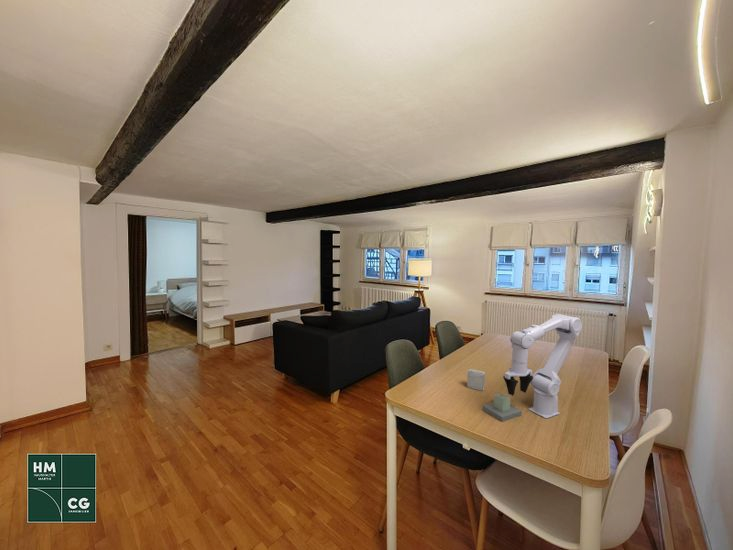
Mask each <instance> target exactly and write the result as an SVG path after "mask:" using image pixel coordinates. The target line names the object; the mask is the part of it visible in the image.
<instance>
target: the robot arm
mask: <svg viewBox="0 0 733 550" xmlns="http://www.w3.org/2000/svg"><path fill="white" fill-rule="evenodd" d="M582 329H583V323H582V320H581V319H580V317H576V316H575V317H574V316H569V315H565V314H561V313H554V314H553V315H551V317H550V318H549V319H547V320H546V321H545V322H543V323H542V324H539V325H537V324H531V325H530V327H527V328H526V329H522V330H520V331H518V330H517V331H515V332H513V333H511V335H510V337H509V341H510V343H511V348H512V352H511V354H512V355H511V366H510V368H508V371H507V372H504V375H503V377H502V379H503V380H504V382H505V385H506V388H507V394H508V395H510V396H512V397H513V396H515V392H516V387H517V385H518V383H519V388H520V390H519V391H520V392H523V393H526V392H527V391H528V388H529V386H532V390H533V403H532V406H531V407H528V410H529V411H531V412H533V413H535V414H536V415H538V416H540V417H542V418H544V419H549V418H551V417H554V416H557V415H560V414H561V413H560V412H559V411H558V408H559V407H558V406H559V397H558V393H559V391H560V386H561V384H562V381H561V378H560V377H559V375H558V374H559V372H560V370H561V369H562V367H563V365H564V363H565V361H566V358H567V357H568V355H569V353H570V351H571V350H572V347H573V345H574V343H575V341H576V339H578V337H579V335H580V332H581V331H582ZM550 331H555V332H556V334H557V335H558V336H559V338H558V340H557V342H556V344H555V345H554V348H553V349H552V352H551V353H550V355H549V357H548V359H547V361H546V362H545V365H544V367H542V368H539V369H536V371H535V373H533V369H531V368H528V360H529V359H528V358H529V350H530V348H531V347H532V346H533V344H534V343H535V342H536V341H538V340H540V339H543V338H544V336H545V334H546V333H548V332H550ZM516 377H518V378H519V380H516V379H515V378H516Z"/></svg>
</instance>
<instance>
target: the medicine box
mask: <svg viewBox="0 0 733 550" xmlns="http://www.w3.org/2000/svg"><path fill="white" fill-rule="evenodd" d="M466 379H467V382H466V383H467V384H466V388H468V389H471V390H472V389H473V390H478V391H482V392H484V390H485V384H486V383H485V382H486V372H485V371H483V370H479V369H478V370H477V369H472V368H470V369H468V370H467V378H466Z"/></svg>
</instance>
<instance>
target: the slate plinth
mask: <svg viewBox="0 0 733 550" xmlns="http://www.w3.org/2000/svg"><path fill="white" fill-rule="evenodd" d="M481 409H482V411H484V412H486V414H488V415H490V416H492V417H493V418H495V419H496V420H498V421H500V422H505V421H509V420H512V419H515V418H518V417H522V415H523V413H522V412H523V410H521V409H519V408H517V407H515V406H514V405H512V404H510V409H509V410H506V411H503V412H502V411H501V410H499V409H497V408H495V407H494V401H492V402H491V403H486V404H483V405H482V407H481Z"/></svg>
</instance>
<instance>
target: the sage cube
mask: <svg viewBox="0 0 733 550" xmlns="http://www.w3.org/2000/svg"><path fill="white" fill-rule="evenodd" d="M493 402H494V407H495V408H497V409H499V410H501V411H502V412H503V411H506V410H509V409H510V405H511V397H509V396H508V395H505V394H503V393H497V394H495V395H493Z"/></svg>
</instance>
